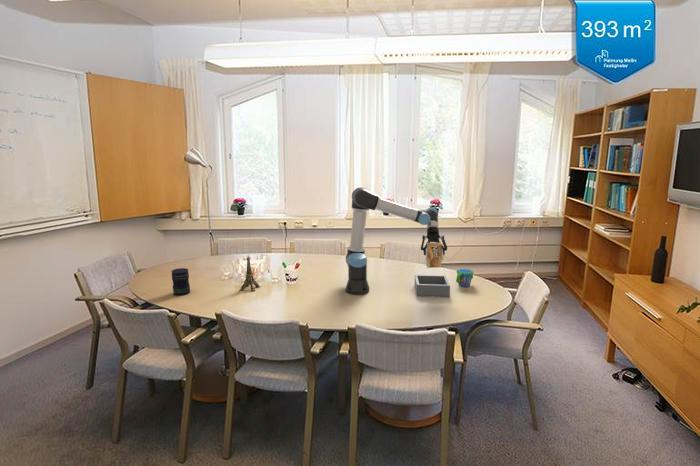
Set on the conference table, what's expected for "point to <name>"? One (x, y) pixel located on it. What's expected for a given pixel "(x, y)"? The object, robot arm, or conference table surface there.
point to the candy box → (434, 255)
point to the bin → (432, 286)
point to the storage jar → (180, 281)
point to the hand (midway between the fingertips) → (434, 259)
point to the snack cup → (464, 277)
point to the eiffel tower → (249, 278)
